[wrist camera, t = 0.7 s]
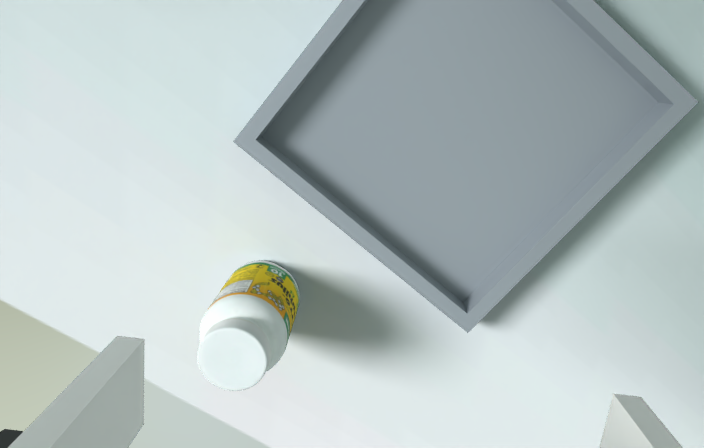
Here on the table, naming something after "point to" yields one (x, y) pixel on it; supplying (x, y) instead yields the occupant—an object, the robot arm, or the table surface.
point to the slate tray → (463, 133)
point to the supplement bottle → (247, 325)
